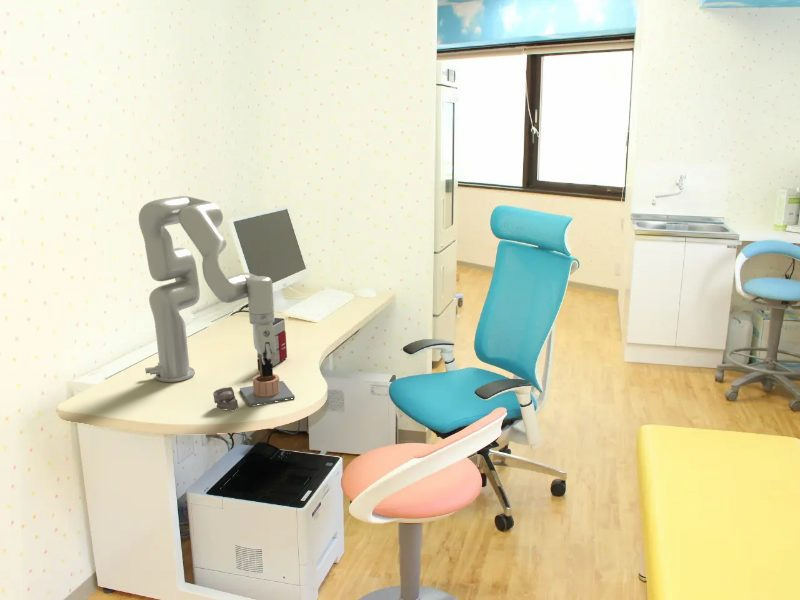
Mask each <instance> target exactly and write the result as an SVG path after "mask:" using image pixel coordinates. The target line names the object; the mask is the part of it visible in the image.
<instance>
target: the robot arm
mask: <svg viewBox="0 0 800 600" xmlns="http://www.w3.org/2000/svg"><path fill="white" fill-rule="evenodd" d="M223 219H224V216H223V213H222V210H221V208H220V207H219V206H218V205H217V204H216V203H213V202H212V201H208V200H204V199H199V198H197V197H196V198H195V197H192V196H187V195H186V196H184V195H181V196H175V197H174V196H173V197H166V198H165V197H164V198H158V199H154V200H151V201H148V202H147V203H145V204H144V205H143V206H142V207H141V209H140V211H139V213H138V223H139V224H138V225H139V228H140V232H141V234H142V237H143V241H144V246H145V252H146V253H145V254H146V260H147V264H148V271H149V274H150V277H151V279H153V280H154V281H157V282H166V281H169V280H175V281H174V282H169V283H167V284H166V283H165V284H163V285H160V286H157V287H155V289H153V290H152V291H151V292H150V295H149V298H148V302H149V306H150V307H149V308H150V309H151V312H152V316H153V321H154V327H155V334H156V336H155V337H156V344H157V352H158V353H157V354H158V355H157V356H158V362H157V364H156V365H154V366H152V367H144V368H145V369H144V370H145V374H149V375H150V376H152V375H155V379H156V380H157V381H159V382H164V383H175V382H176V383H178V382H183V381H185V380H189V379H191V378H192V377H194V375H195V374H196V372H195V371H196V370H195V368H193V367H190V359H189V351H188V349H189V348H188V339H187V329H186V323H185V320H184V318H183V317H182V316H181V314H180V311H182V310H185V309H188V308H192V307H193V306H195V305H197V303H198V302H199V300H200V298H201V297H200V296H201V289H200V283H199V276H198V275H199V274H198V269H197V264H196V259H195V257H194V255H193V254H192V252H190V250H188V249H187V248H183V247H176V248H174V243H173V238H172V236H171V234H170V232H169V231H168V229H167V228H166V226H173V225H179V224H180V226H181V227H182V229H183V230H184V232H185V233H186V234H187V237H189V239H190V240H191V242H192V243H193V245H194V247H195V248H196V249H197V251H198V252H199V254H200V255H201V257H202V262H201V264H202V273H203V277H204V280H205V282H206V285H207V286H208V287H209V289H210V291H211V292H212V293H213V294H214V296H215V297H216V298H217V299H218V300H219V301H221V302H222V303H226V304H231V303H234V302H237V301H239V300H242V299H247V301H248V302H247V303H248V316H249V323H250V324H251V325H252V335H253V345H254V349H255V350H256V353H257V354H256V355H257V356H256V357H257V371H258V372H260V365H259V354H260V355H261V356H262V363H263V364H262V376H263V377H266V376H272V375H273V374H274V370H273V367H274V366H273V367H272V356H271V352H272V353H273V354H276V345H275V335H274V328H273V322H274V321H275V319H274V318H275V304H274V290H273V289H274V287H273V281H272V280H273V279H271V278H270V277H269V276H267V275H266V276H265V275H259V276H258V275H256V274H253V273H251V272H243V273H242V272H241V273H238V274H235V275H231V276H228V277H227V276H226V274H225V273H224V271H223V270H222V268H221V266H220V264H219V263H220V262H219V256H220V255H221V253H223V251H224V250H225V249H226V247H227V240H226V239H225V238H224V237H223V235H222V233H221V232H220V230H219V229H218V227H220V226H221V225H222V224H223ZM265 352H266V354H263V353H265ZM265 356H266V358H265V359H264V357H265Z"/></svg>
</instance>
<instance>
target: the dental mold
mask: <svg viewBox="0 0 800 600" xmlns="http://www.w3.org/2000/svg"><path fill="white" fill-rule="evenodd" d="M212 395H213V400H214V401H213V402H214V403H215V404H216V406H215V407H217V408H219V409H227V410H226V411H232V410H234V411H236V410H237V409H238V408H239V402H238V399H236V396H235V391H234V388H233V387H231V386H229V387H228V386H227V387H222V388H218V389H216V390H215V391H214V392H213V393H212ZM237 407H238V408H237ZM217 408H216V409H217ZM236 408H237V409H236ZM235 409H236V410H235Z"/></svg>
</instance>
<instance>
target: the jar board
mask: <svg viewBox="0 0 800 600" xmlns="http://www.w3.org/2000/svg"><path fill="white" fill-rule="evenodd" d="M239 391H241V392H240V393H241V394H243V395H242V396H244V397H243V398H244V400H245V399H246V400H245V402H246V403H247V402H248V403H247V405H248V404H249V405H248V406H249V407H250V406H252V407H254V406H253V405H257V404H263V405H265V404H264V403H269V404H271V403H270V402H274V403H276V402H275V401H280V402H282V401H281V400H285V399H291V398H295V399H296V396H295V394H294V393H293V392H292V391H291V390H290V388H289V387H288V386H287V384H286V383H285V382H284V380H280V376H279V375H278V374H275V373H273V375H272V376H271V381H267V382H261V378H260V374H258V375H257V374H256V375H255V376H254V377H253V378H252V385H250V386H243V387H240V388H239ZM291 400H292V399H291ZM257 406H258V405H257Z"/></svg>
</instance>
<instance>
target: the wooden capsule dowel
mask: <svg viewBox="0 0 800 600" xmlns="http://www.w3.org/2000/svg"><path fill="white" fill-rule="evenodd" d="M263 354H266V352H265V353H263ZM265 358H266V356H265V357H264V359H265ZM258 359H259V365H260V371H259V375H260V378H261V382H267V381H271V376H266V377H263V376H262V364H263V363H262V356H261V355H260V354H259V358H258Z"/></svg>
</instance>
